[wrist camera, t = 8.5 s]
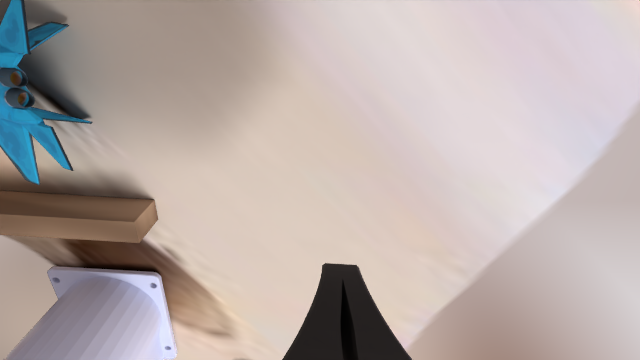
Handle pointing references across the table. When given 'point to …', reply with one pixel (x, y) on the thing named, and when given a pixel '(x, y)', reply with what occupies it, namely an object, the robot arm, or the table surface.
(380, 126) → the table surface
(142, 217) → the brown wooden u shape
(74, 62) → the table surface
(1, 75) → the toy airplane
